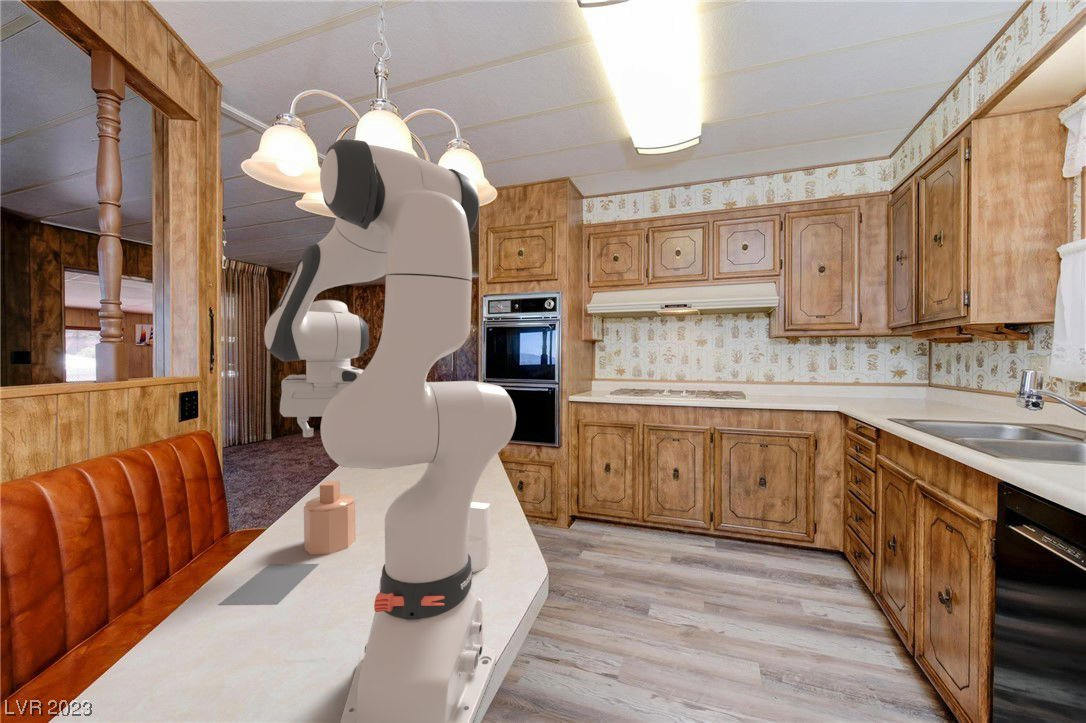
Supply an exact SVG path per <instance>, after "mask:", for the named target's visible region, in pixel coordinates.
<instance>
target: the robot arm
mask: <svg viewBox="0 0 1086 723" xmlns="http://www.w3.org/2000/svg"><path fill="white" fill-rule="evenodd" d="M319 181H320V187H321V188H320V189H321V192H322V196H323V200H324V203H325V205H326V207H327V208H328V209H329V210H330V211H331V212H332V213H333V215H334V216H335V221H334V224H333V226H332V228H331V230H330V231H329V232H328V233H327V235H326V236H324V238H322V239H321V240H320V241H318V242H316V243H313V244H311V245H308V246H307V247H306V248H305V249H304V251H303V252H302V253H301V255H300V256H299V258H298V260H297V263H296V264H295V266H294V268H293V271H292V273H291V274H290V277H289V279H288V281H287V284H286V286H285V288H284V291H283V293H282V294H281V297H280V299H279V301H278V303H277V305H276V307H275V308H274V310H272V312H271V314H270V315H269V317H268V319H267V322H266V324H265V328H264V335H263V337H264V343H265V347H266V350H267V351H268V352H269V353H270V354H271V355H272V356H274V357H275V358H277V359H279V360H280V361H282V362H284V363H286V362H295V361H301V360H302V361H304V360H305V361H306V362H305V364H306V365H305V366H306V367H305V368H306V371H305V373H306V374H290V375H287V376H286V377H284V378H283V379H282V380H281V386H280V387H281V388H280V389H281V396H280V403H279V413H280V414H281V415H282V417H284V418H292V417H293V418H296V420H297V422H296V423H297V424H298V426H299V427H300V428H301V430H302V437H303V438H311V437H313V436H314V435H315V434H314V431H315V430H314V429H315V428H314V427H310V426H309V424H308V422H307V421H310V420H309V419H310V418H311V417H321V421H320V438H321V443H322V445H323V447H324V449H325V452H326V453H327V455H328V456H329V458H331V460H332V461H333V462H335V464H337V466H340V467H341V468H350V469H362V470H363V469H365V470H366V469H367V470H383V469H384V470H385V469H390V468H392V469H393V468H398V467H406V466H413V465H414V466H415V465H421V464H427V467H426V470H425V471H424V473H423V474H422V476H421V477H420V479H419V480H417V482H416V483H414V484H413V485H412V486H410V487H409V488H406V489H405V490H404V491H402V492H400V494H398V495H397V496H396V497H395V499H394V500H393V501H392V502H391V503H390V505H389V506H388V509H387V511H386V514H385V516H384V565H383V566H382V569H381V576H380V578H379V579H380V580H379V587H378V588H379V592H378V593H377V594H376V596H375V599H374V605H373V608H374V611H375V612H374V615H373V619H372V622H371V627H370V631H369V635H368V640H367V643H366V645H365V647H364V653H362V654H361V655H360V657H359V659H358V662H357V665H356V668H355V672H354V675H353V678H352V682H351V684H350V685H351V686H350V688H349V691H348V694H347V698H346V702H345V706H344V709H343V712H342V716H341V718H340V721H339V723H473V722H474V721H475V718H476V715H477V713H478V711H479V707H480V705H481V704H482V701H483V698H484V695H485V693H486V690H487V687H488V686H489V682H490V681H491V678H492V675H493V673H494V670H495V667H496V665H497V662H496V659H497V654H496V651H495V650H494V649H492V648H490V647H489V646H486V645H485V634H484V633H485V632H484V611H483V610H484V609H483V608H484V607H483V600H482V599H481V598H480V597H479V596H478V595H477V594H476V593H475V592H474V590H473V588H472V583H473V581H472V577H473V573H472V565H471V557H470V555H469V554H468V533H469V517H470V507H471V502H473V501H472V500H473V498H474V494H475V491H476V489H477V486H478V483H479V481H480V479H481V477H482V475H483V474H484V472H485V470H486V468H487V466H489V464H490V462H492V460H493V459H494V458H495V456H496V455H497V454H498V453H499V452H500V451H502V449H503V448H505V447H506V446H507V444H509V442H510V440H511V439H512V437H513V434H514V432H515V429H516V422H517V413H516V408H515V405H514V402H513V399H512V398H511V396H510V394H509V393H508V392H507V391H506V389H504V388H503V387H502V386H501V385H496V384H491V383H488V382H481V381H476V380H458V381H457V380H455V381H427V378H428V374H429V373H430V370H431V368H432V367H433V366H434V365H435V363H436V362H438V361H439V360H440V359H442V358H445V357H447V356H448V355H450V354H452V353H454V352H456V351H457V350H460V348H461V347H462V346H463V345H464V344H465V342H467V339H468V338H469V336H470V333H471V325H472V324H471V321H472V320H471V319H472V317H471V316H472V289H473V288H472V285H473V282H472V281H473V263H472V261H473V260H472V259H473V258H472V257H473V256H472V245H471V237H470V233H471V232H472V231H473V229H474V228H475V227H476V226H475V225H476V224H477V221H478V218H479V214H480V198H479V193H478V189H477V186H476V185H475V183H474V182H473V180H472V179H470V178H469V177H468V176H467V175H465V174H463V173H461V172H459V171H457V170H456V169H453V168H449V169H447V168H445V167H444V166H442V165H439V164H438V163H437V164H436V163H434V162H431V161H429V160H426V159H424V158H420V157H418V156H415V155H414V154H412V153H409V152H405V151H402V150H397V149H394V148H390V147H384V146H378V145H372V144H368V143H367V142H366V141H365V140H359V139H358V140H357V139H345V138H344V139H338V140H336V141H335V142H333V143H332V145H330V146H329V147H328V149H327V150H326V153H325V157H324V158H323V161H322V163H321V167H320V174H319ZM384 276H385V295H384V312H383V321H382V331H381V335H380V339H379V342H378V345H377V348H376V350H375V353H374V354H373V356H372V358H371V360H370V361H369V363H368V364H367V366H366V367H365V368H364V369H362V368H359V367H354V366H352V365H351V359H355V358H360V357H362V355H363V354H364V353H365V352H366V351H367V350H368V349H369V346H370V331H369V325H368V324H367V322H366V321H365V320H364V319H363V318H362V317H361V316H359V315H358V314H354V313H351V312H350V311H349V309H348V305H347V304H346V303H344V302H343V301H340V300H335V299H318V300H316V301H314V300H315V298H316V297H317V296H318V294H320V293H322V292H323V291H325V290H328V289H332V288H334V287H339V286H345V285H351V284H359V283H367V282H372V281H375V280H377V279H380V278H382V277H384ZM495 664H496V665H495Z"/></svg>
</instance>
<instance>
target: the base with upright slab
mask: <svg viewBox="0 0 1086 723" xmlns="http://www.w3.org/2000/svg"><path fill="white" fill-rule="evenodd" d="M468 554H469V555H470V557H471V565H472V572H473V573H477V572H480V571H482V570H484V569H486V568H487V567H488V566H489V565H490V563H491V503H486V502H478V501H477V502H475V501H471V507H470V517H469V533H468Z"/></svg>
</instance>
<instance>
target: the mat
mask: <svg viewBox="0 0 1086 723" xmlns="http://www.w3.org/2000/svg"><path fill="white" fill-rule="evenodd" d="M319 565H320V564H319V563H269V564H267V566H265V567H264V568H263V569H261V570H260V571H259V572H258V573H256V574H255V575H253V577H251V578H249V579H248V580H247V581H246V582H244V583H243V585H241V586H240V587H238V588H237V589H236V590H235V591H234V592H232V593H231V594H229V595H228V596H227V597H226V598H224V599H223V600H222V601H221V602H219V603H218V604H217V605H218V606H244V605H245V606H248V605H249V606H253V605H255V606H257V605H259V606H260V605H261V606H262V605H266V606H267V605H269V606H270V605H279V603H280V602H283V600H284V599H285V598H286V597H287V596H288V595H289V594H290V593H291V592H292V591H293V590H294V589H295V588H296V587H298V585H299V584H300V583H301V582H303V580H304V579H306V578H307V577H308V576H309V575H310V574H311V572H313V571H314V570H315V568H317V567H318V566H319Z"/></svg>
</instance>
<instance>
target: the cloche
mask: <svg viewBox="0 0 1086 723" xmlns="http://www.w3.org/2000/svg"><path fill="white" fill-rule="evenodd" d="M354 542H356V500H355V497H354V496H353V495H351V494H346V493H341V482H340V480H331V481H330V480H329V481H328V480H326V481H324V482H323V483H321V484H320V485H319V496H317V497H315V498H311V499H309V500H308V501H307V502H306V503H305V506H304V507H303V544H304V545H303V547H304V548H303V549H304V550H305V551H306V552H307V553H308V554H310V555H331V554H334V553H337V552H341V551H344V550H347V549H349V548H350V547H351V546H352V545H353V543H354Z"/></svg>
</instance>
